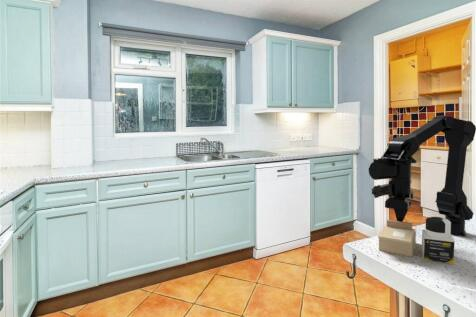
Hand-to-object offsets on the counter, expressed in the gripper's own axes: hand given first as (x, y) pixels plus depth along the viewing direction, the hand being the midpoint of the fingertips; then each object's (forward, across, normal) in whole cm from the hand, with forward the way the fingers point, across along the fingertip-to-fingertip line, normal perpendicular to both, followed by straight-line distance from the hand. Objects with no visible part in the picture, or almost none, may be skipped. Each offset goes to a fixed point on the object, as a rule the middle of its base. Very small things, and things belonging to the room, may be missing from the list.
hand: (399, 223), depth 98 cm
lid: (+1, +7, 0) cm, 7 cm away
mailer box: (+7, +4, 0) cm, 8 cm away
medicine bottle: (+7, +7, +11) cm, 14 cm away
